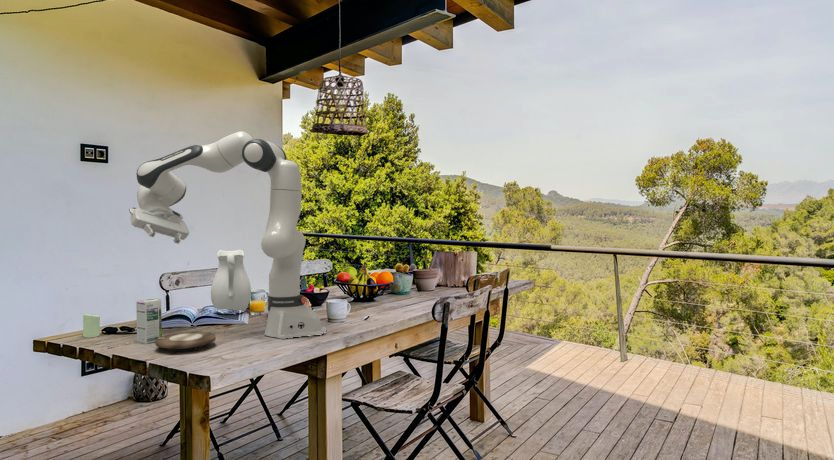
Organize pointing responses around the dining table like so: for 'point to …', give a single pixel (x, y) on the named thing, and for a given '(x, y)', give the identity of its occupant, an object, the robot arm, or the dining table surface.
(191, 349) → the turntable base
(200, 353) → the dining table surface
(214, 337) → the brown plate
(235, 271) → the pitcher
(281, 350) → the dining table surface
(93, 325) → the candle
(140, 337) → the syrup box
